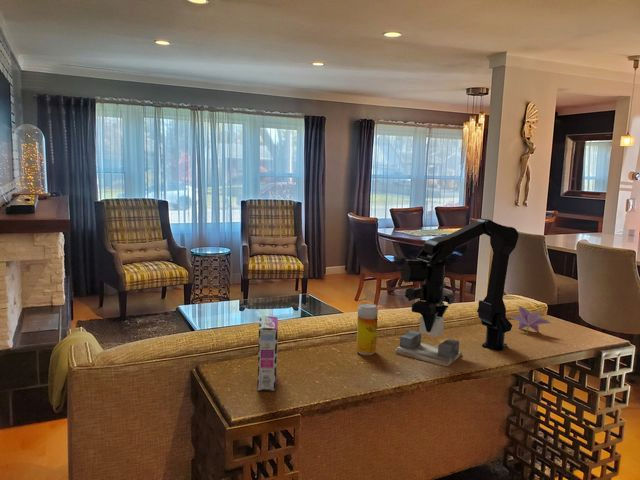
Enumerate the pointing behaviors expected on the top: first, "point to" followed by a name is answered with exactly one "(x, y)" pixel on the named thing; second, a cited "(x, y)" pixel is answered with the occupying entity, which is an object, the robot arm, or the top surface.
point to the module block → (436, 328)
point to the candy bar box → (267, 353)
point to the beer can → (367, 329)
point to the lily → (529, 319)
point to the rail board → (428, 349)
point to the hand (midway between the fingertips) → (431, 329)
